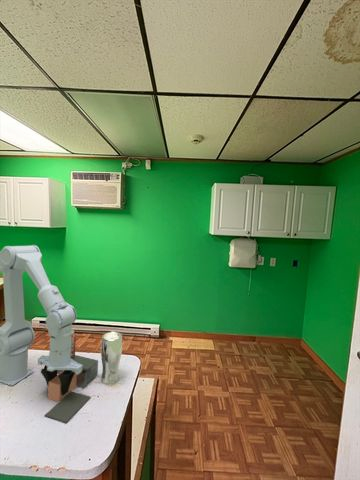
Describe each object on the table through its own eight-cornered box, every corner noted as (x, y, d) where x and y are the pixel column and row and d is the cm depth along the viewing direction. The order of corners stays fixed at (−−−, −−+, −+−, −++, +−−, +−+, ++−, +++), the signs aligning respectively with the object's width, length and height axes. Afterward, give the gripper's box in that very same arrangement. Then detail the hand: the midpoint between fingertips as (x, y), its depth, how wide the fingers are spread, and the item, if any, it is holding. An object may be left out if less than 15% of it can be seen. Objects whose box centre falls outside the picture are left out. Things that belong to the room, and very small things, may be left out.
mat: (44, 416, 64) (44, 415, 64) (71, 392, 73) (71, 391, 73) (66, 423, 62) (66, 422, 62) (90, 397, 71) (90, 396, 71)
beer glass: (96, 384, 78) (98, 339, 77) (103, 371, 85) (105, 330, 84) (116, 386, 77) (119, 341, 77) (123, 373, 84) (125, 332, 84)
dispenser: (58, 381, 78) (59, 363, 78) (73, 369, 85) (73, 353, 85) (84, 388, 76) (85, 370, 75) (97, 375, 82) (98, 358, 82)
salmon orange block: (47, 398, 70) (48, 382, 70) (71, 378, 80) (72, 364, 80) (59, 401, 69) (59, 385, 69) (81, 381, 79) (82, 366, 79)
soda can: (66, 374, 82) (67, 337, 81) (48, 370, 83) (49, 334, 83) (78, 363, 89) (80, 329, 88) (61, 360, 90) (63, 326, 90)
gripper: (29, 348, 69) (27, 394, 70) (71, 359, 65) (69, 406, 66) (48, 338, 76) (47, 379, 76) (87, 347, 72) (85, 390, 73)
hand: (58, 391), depth 71 cm, fingers closed on salmon orange block, 4 cm apart
